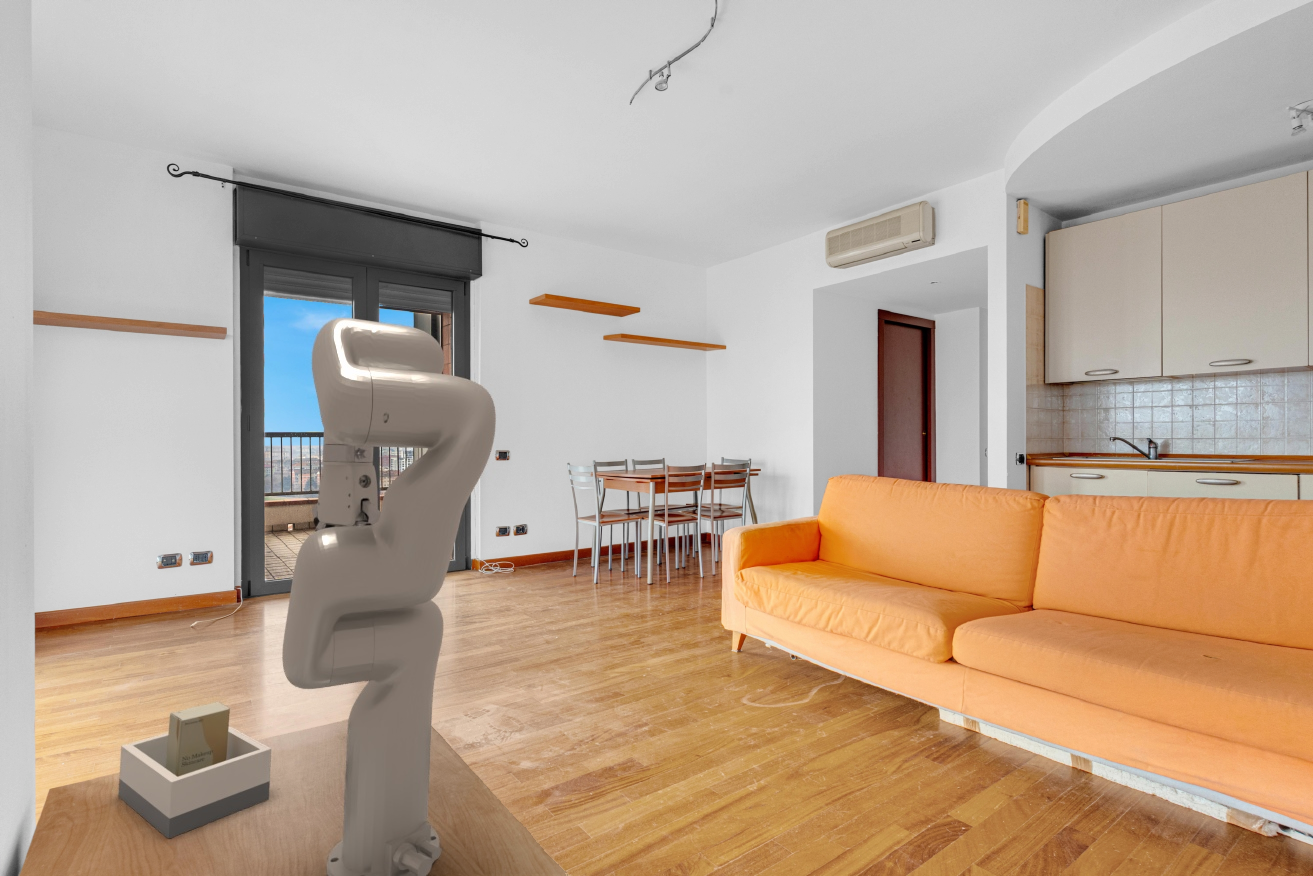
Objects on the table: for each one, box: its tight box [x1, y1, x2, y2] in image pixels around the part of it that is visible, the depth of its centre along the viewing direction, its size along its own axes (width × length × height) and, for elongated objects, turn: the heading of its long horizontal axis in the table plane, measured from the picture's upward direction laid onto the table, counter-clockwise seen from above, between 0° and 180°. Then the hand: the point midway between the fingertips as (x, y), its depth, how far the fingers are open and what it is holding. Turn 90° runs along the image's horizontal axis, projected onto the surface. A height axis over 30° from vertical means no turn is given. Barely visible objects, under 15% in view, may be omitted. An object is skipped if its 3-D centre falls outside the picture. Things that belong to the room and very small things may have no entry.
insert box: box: [117, 725, 272, 840], centre depth 91 cm, size 17×12×7 cm
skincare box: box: [166, 701, 231, 777], centre depth 91 cm, size 6×4×12 cm
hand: (343, 561), depth 106 cm, fingers open, 9 cm apart
